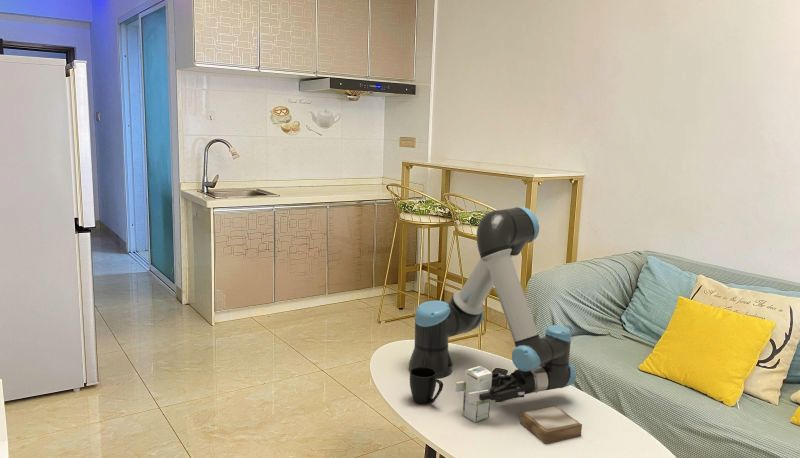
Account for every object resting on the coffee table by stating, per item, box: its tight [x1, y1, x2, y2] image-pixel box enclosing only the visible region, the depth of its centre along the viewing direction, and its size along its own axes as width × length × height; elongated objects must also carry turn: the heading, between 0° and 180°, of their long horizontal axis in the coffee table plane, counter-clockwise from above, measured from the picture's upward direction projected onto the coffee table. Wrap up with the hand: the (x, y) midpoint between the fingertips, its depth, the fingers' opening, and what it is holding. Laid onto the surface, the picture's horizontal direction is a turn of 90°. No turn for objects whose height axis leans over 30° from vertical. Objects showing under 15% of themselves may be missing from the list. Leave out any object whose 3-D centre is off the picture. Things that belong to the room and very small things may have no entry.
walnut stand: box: [519, 405, 583, 445], centre depth 171 cm, size 12×12×4 cm
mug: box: [409, 367, 444, 406], centre depth 185 cm, size 8×12×10 cm
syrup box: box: [462, 365, 493, 423], centre depth 177 cm, size 6×6×14 cm
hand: (462, 392), depth 175 cm, fingers closed on syrup box, 6 cm apart
